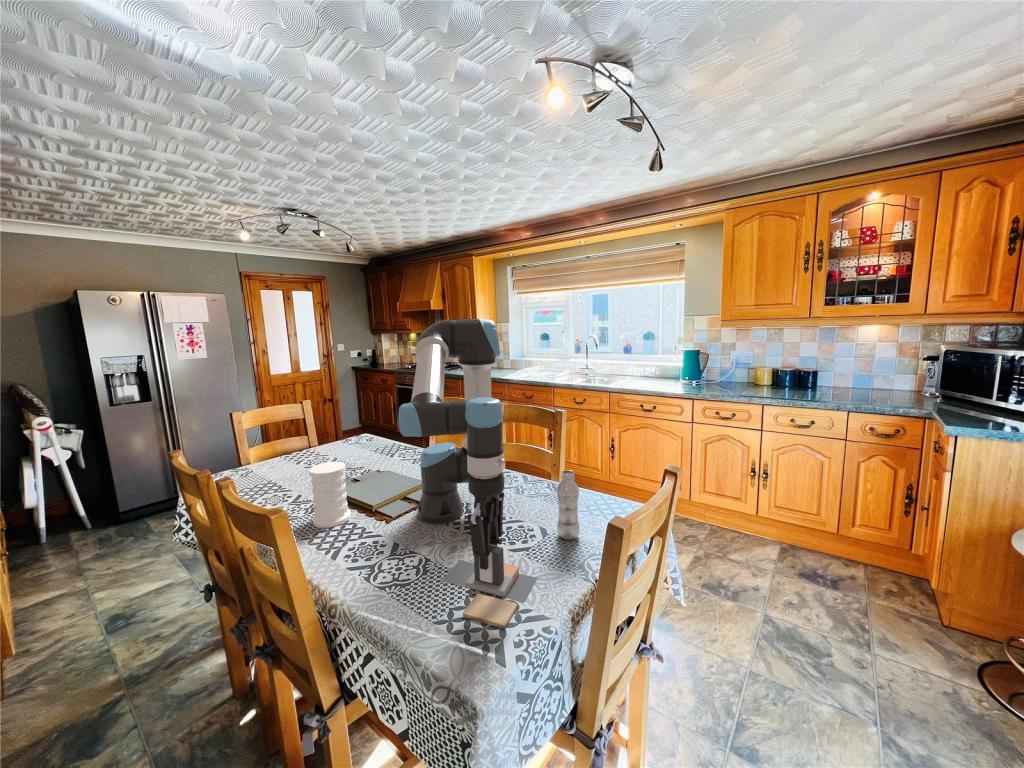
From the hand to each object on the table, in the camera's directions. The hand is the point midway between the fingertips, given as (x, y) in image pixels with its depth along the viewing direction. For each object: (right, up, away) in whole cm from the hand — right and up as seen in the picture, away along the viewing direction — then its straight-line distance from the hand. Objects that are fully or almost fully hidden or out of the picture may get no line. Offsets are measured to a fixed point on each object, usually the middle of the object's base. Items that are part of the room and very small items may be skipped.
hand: (489, 576), depth 87 cm
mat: (-1, -7, +13) cm, 14 cm away
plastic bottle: (+22, -4, +32) cm, 39 cm away
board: (0, -9, +2) cm, 9 cm away
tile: (-3, -5, +13) cm, 15 cm away
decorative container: (-55, -3, +46) cm, 72 cm away
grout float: (0, -2, 0) cm, 2 cm away
